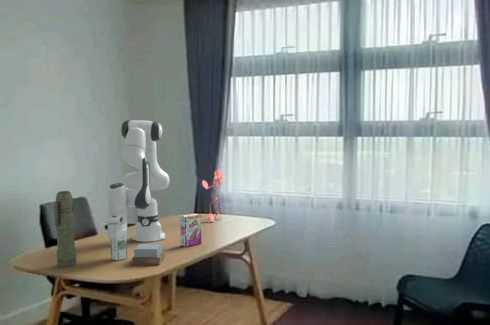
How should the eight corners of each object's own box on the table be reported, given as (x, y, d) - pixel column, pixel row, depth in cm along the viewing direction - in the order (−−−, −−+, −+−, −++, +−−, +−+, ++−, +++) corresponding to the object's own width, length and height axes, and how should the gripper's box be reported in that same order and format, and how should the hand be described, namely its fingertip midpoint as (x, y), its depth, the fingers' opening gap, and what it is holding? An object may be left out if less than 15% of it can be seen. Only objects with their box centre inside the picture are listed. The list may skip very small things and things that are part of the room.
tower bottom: (139, 259, 272) (139, 251, 272) (165, 259, 271) (165, 251, 271) (132, 266, 259) (132, 258, 259) (159, 266, 258) (159, 257, 258)
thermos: (82, 262, 266) (79, 190, 263) (67, 268, 254) (64, 193, 252) (66, 261, 268) (63, 189, 266) (51, 267, 257) (47, 193, 254)
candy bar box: (186, 247, 293) (185, 216, 292) (180, 246, 297) (179, 215, 295) (202, 243, 301) (201, 214, 300) (196, 242, 304) (195, 213, 303)
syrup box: (120, 256, 275) (119, 228, 274) (127, 258, 271) (126, 229, 270) (110, 259, 271) (109, 230, 270) (118, 261, 267) (117, 231, 266)
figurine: (199, 223, 359) (199, 170, 356) (219, 217, 381) (219, 167, 379) (219, 226, 352) (219, 171, 349) (238, 219, 374) (239, 168, 371)
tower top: (140, 251, 271) (140, 243, 270) (162, 251, 270) (162, 243, 270) (134, 257, 260) (134, 249, 259) (157, 257, 259) (157, 249, 259)
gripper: (117, 213, 280) (118, 240, 281) (105, 220, 260) (106, 249, 261) (129, 213, 279) (130, 239, 281) (118, 220, 259) (119, 249, 260)
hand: (118, 244), depth 270 cm, fingers open, 8 cm apart
